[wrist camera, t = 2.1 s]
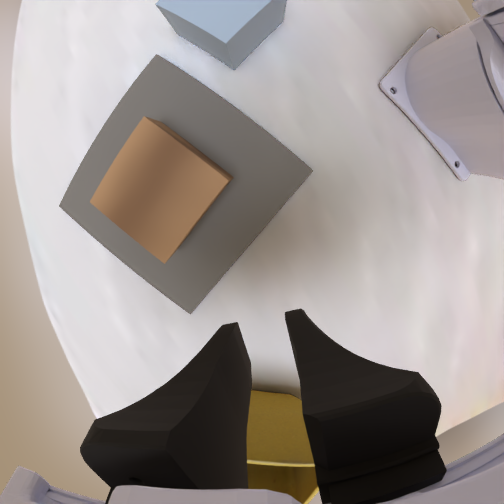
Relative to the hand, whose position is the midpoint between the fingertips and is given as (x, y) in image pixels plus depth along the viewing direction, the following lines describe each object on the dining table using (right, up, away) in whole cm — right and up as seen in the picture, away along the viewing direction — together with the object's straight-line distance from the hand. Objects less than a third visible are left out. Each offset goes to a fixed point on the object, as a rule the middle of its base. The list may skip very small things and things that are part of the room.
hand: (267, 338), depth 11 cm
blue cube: (-2, +18, +4) cm, 19 cm away
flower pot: (0, -11, +13) cm, 17 cm away
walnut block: (-6, +8, +7) cm, 12 cm away
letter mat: (-6, +8, +8) cm, 12 cm away
